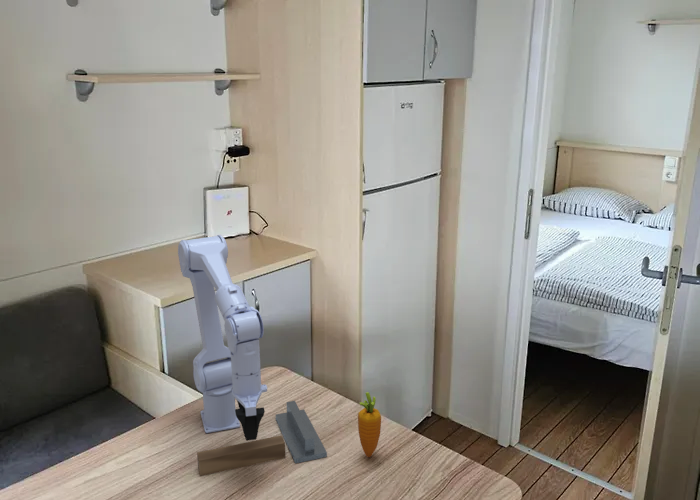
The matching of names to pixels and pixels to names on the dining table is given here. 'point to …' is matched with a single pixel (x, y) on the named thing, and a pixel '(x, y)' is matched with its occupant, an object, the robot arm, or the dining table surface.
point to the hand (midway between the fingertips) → (249, 428)
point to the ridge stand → (300, 434)
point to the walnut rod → (240, 455)
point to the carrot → (369, 425)
